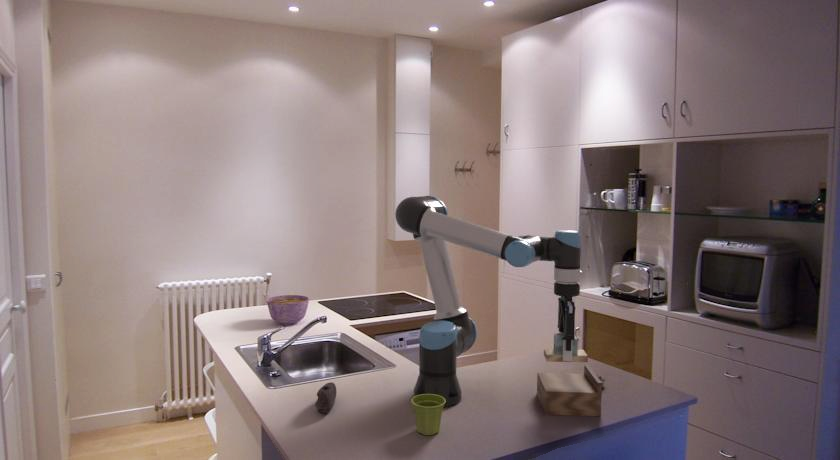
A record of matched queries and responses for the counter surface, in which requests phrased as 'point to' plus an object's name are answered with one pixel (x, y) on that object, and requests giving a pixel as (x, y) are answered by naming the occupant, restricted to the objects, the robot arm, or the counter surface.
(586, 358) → the blue cube on tile
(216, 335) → the counter surface
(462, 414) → the counter surface
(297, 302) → the bowl of food
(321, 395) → the perforated stone tool
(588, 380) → the dock
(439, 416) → the plant pot
